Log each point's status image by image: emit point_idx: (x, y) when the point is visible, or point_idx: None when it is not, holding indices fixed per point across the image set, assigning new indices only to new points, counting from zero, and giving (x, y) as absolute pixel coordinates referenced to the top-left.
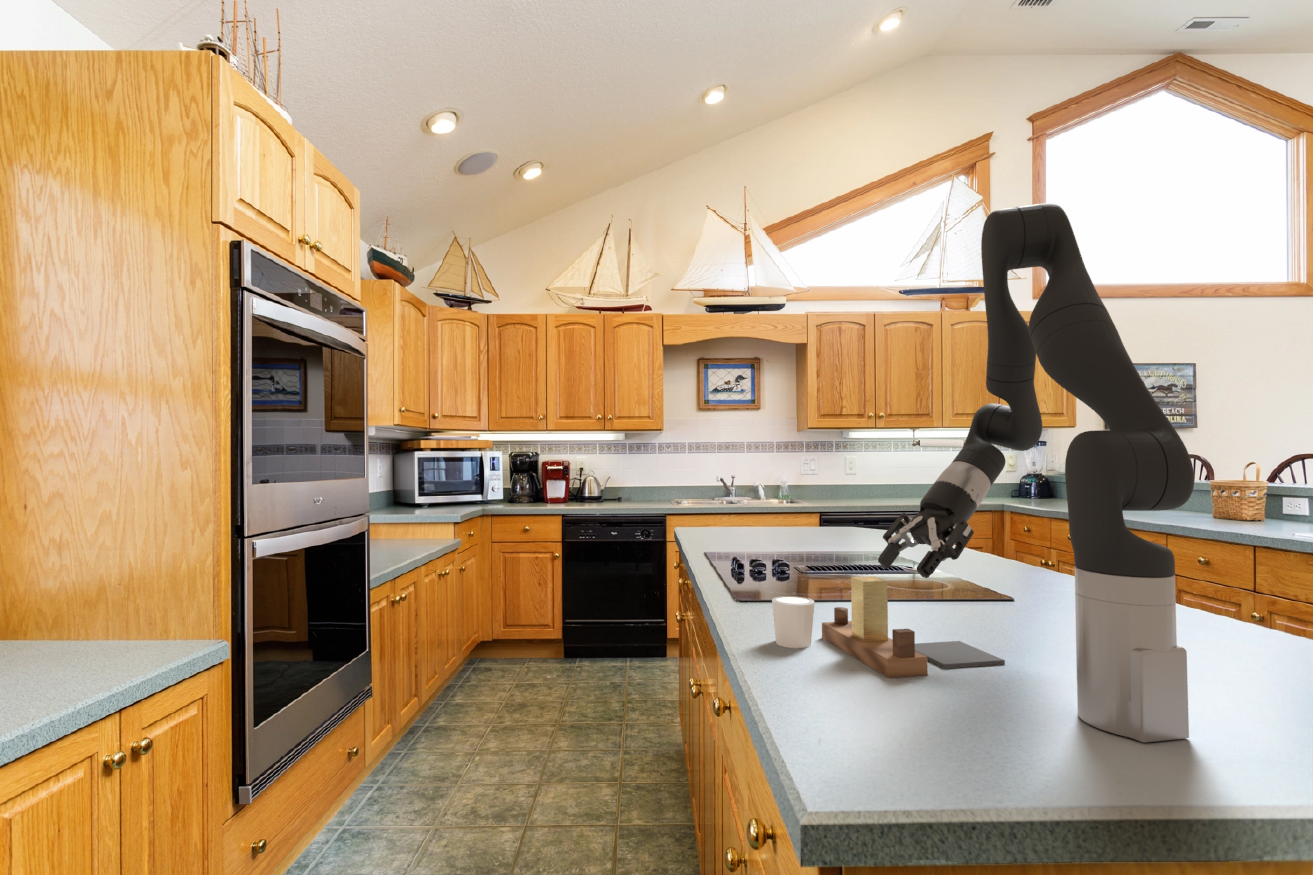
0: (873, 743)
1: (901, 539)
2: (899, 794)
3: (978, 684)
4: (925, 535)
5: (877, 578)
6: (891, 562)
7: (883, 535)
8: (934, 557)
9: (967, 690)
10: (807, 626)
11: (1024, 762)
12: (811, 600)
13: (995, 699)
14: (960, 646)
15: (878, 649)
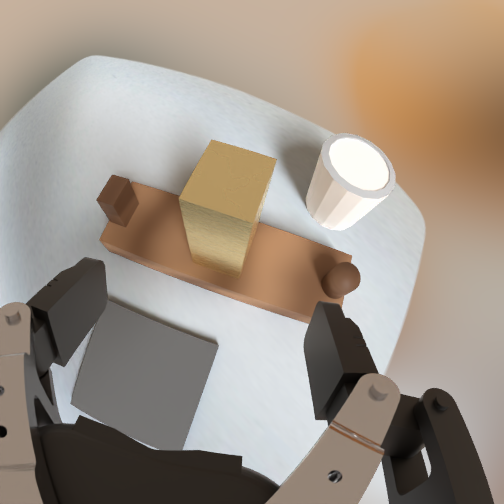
0: (85, 96)
1: (387, 492)
2: (59, 82)
3: (54, 277)
4: (92, 440)
5: (221, 203)
6: (308, 362)
7: (453, 401)
8: (32, 298)
9: (55, 243)
10: (313, 185)
11: (7, 154)
12: (347, 183)
13: (29, 244)
14: (152, 425)
15: (168, 205)
